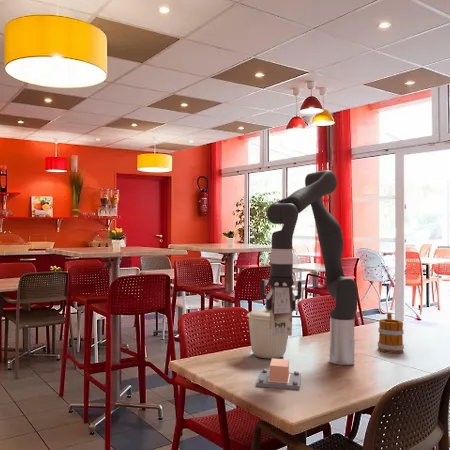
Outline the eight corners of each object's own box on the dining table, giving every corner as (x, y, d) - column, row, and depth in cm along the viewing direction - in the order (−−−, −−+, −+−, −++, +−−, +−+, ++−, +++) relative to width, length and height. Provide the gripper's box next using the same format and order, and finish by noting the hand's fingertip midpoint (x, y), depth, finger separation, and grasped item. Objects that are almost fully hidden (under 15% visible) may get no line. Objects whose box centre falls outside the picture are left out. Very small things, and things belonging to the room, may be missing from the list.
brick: (288, 374, 168) (289, 359, 168) (287, 382, 160) (287, 366, 160) (271, 372, 170) (271, 358, 170) (269, 380, 161) (269, 365, 161)
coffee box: (292, 335, 160) (293, 287, 160) (273, 335, 160) (274, 287, 160) (286, 330, 170) (287, 283, 170) (268, 329, 169) (269, 283, 169)
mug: (378, 352, 206) (379, 317, 206) (375, 344, 222) (376, 311, 222) (405, 354, 203) (406, 319, 203) (400, 345, 219) (401, 312, 219)
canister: (238, 352, 201) (239, 301, 202) (274, 348, 210) (275, 299, 210) (261, 364, 185) (262, 308, 185) (299, 358, 194) (301, 306, 194)
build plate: (300, 376, 170) (300, 371, 170) (299, 389, 156) (299, 383, 156) (260, 373, 173) (261, 368, 173) (256, 386, 159) (256, 380, 159)
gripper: (303, 262, 167) (302, 310, 167) (261, 260, 170) (260, 308, 170) (302, 263, 160) (301, 313, 160) (259, 262, 162) (258, 311, 162)
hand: (280, 310), depth 165 cm, fingers closed on coffee box, 7 cm apart
